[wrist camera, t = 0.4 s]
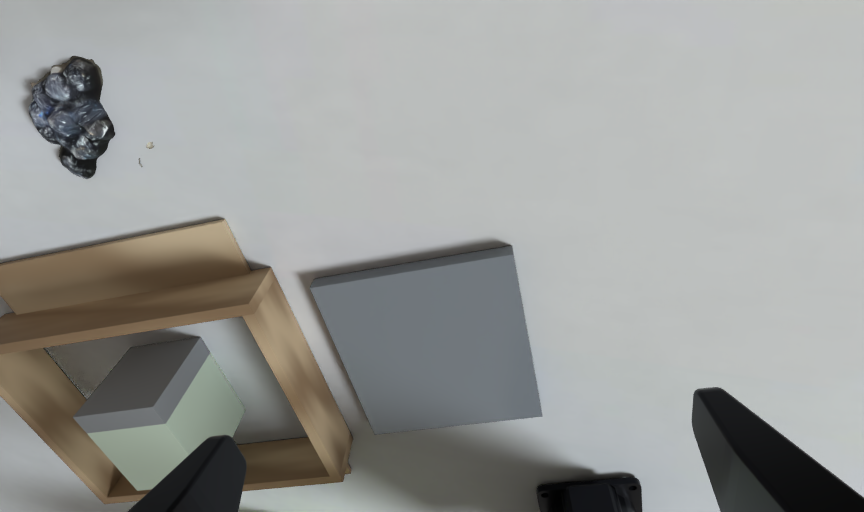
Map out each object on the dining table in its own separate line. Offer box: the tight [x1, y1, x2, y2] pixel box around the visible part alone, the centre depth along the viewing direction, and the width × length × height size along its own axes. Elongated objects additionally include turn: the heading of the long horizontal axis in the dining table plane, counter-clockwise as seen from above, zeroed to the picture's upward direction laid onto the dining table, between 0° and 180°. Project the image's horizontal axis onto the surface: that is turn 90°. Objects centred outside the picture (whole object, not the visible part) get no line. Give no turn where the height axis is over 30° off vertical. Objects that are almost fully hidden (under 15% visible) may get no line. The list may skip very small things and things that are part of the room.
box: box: [73, 337, 245, 491], centre depth 28 cm, size 6×4×5 cm
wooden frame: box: [0, 219, 353, 504], centre depth 29 cm, size 19×16×3 cm
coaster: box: [310, 246, 542, 435], centre depth 27 cm, size 11×10×1 cm
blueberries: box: [29, 56, 154, 179], centre depth 22 cm, size 7×8×2 cm
